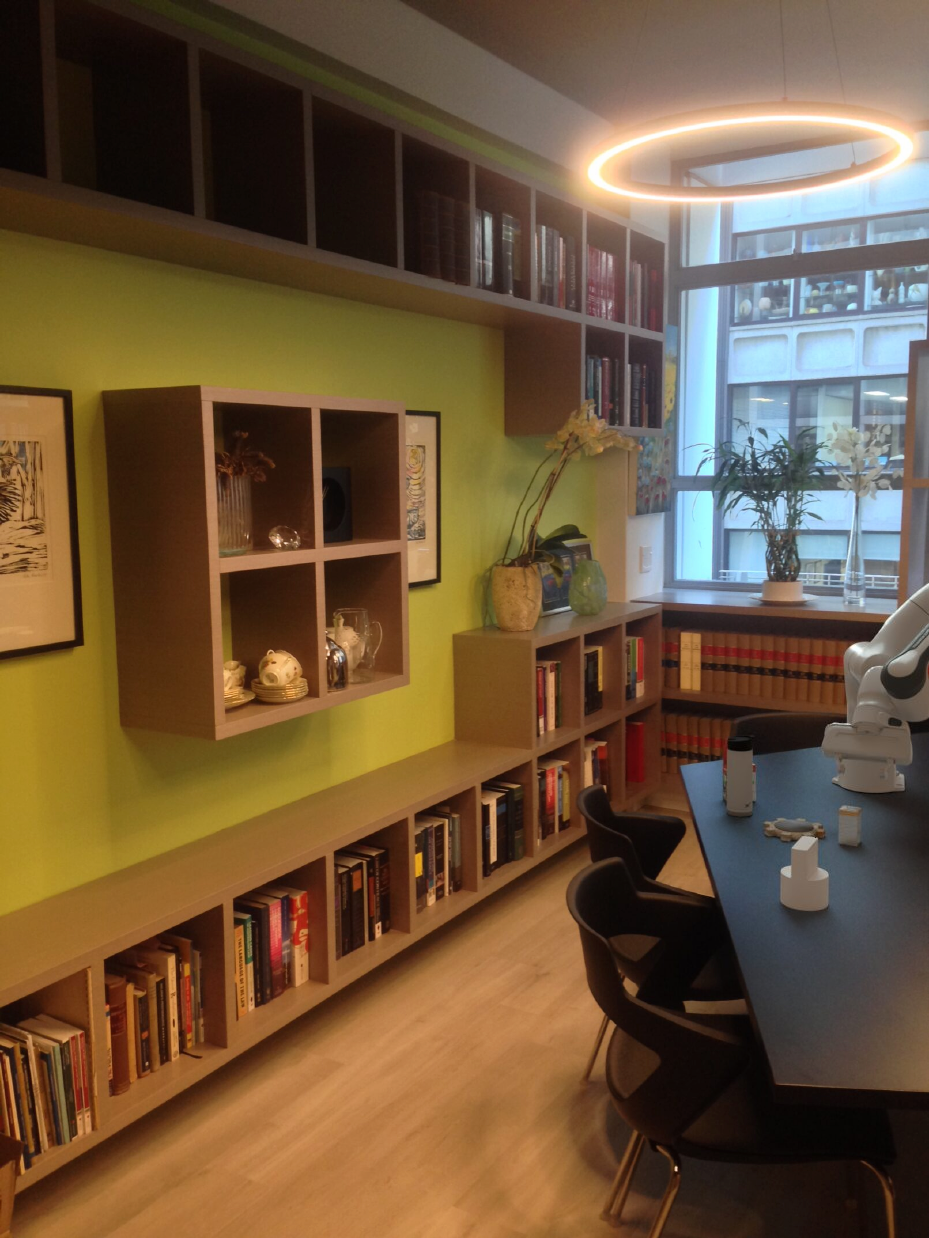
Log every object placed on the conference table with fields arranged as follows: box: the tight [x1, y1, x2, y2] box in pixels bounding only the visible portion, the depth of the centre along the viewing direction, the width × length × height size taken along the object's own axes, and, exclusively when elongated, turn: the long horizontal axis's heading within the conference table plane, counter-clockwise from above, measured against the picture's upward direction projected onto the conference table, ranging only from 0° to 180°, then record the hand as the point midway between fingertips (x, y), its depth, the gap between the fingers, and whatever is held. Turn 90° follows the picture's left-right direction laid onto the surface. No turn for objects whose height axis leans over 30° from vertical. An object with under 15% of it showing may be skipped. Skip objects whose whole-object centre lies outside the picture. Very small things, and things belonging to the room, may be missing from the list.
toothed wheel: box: [762, 817, 826, 843], centre depth 251 cm, size 14×14×2 cm
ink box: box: [722, 745, 757, 803], centre depth 278 cm, size 4×8×15 cm, turn 98°
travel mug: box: [726, 734, 755, 818], centre depth 266 cm, size 6×7×20 cm
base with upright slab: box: [779, 836, 830, 912], centre depth 208 cm, size 9×9×12 cm
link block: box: [837, 804, 862, 847], centre depth 243 cm, size 4×4×8 cm
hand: (861, 775), depth 248 cm, fingers open, 8 cm apart
